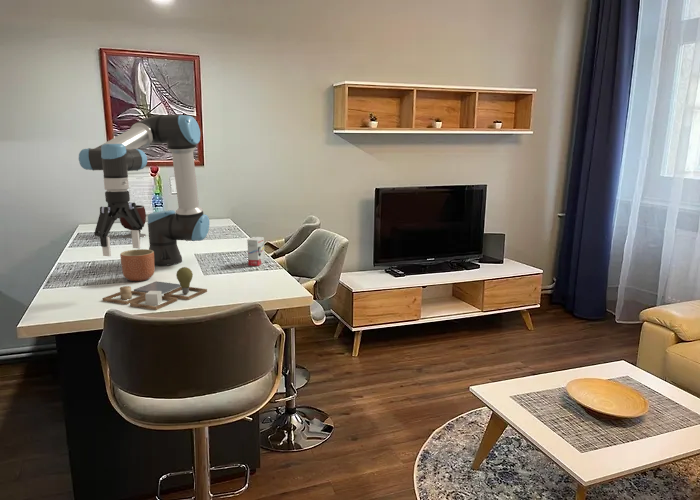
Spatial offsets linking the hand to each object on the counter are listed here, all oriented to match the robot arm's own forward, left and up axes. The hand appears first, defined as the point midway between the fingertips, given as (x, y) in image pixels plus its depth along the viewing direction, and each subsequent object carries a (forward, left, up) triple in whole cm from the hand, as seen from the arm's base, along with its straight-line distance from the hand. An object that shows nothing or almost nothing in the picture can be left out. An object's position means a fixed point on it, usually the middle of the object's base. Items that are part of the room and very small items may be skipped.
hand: (122, 252), depth 181 cm
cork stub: (0, 0, -17) cm, 17 cm away
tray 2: (+13, -1, -17) cm, 21 cm away
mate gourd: (-82, +93, -17) cm, 125 cm away
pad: (+2, +14, -17) cm, 22 cm away
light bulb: (+16, +12, -17) cm, 26 cm away
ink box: (+16, +62, -17) cm, 66 cm away
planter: (-14, +22, -17) cm, 31 cm away
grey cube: (+13, -1, -17) cm, 21 cm away
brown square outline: (+16, +12, -17) cm, 26 cm away
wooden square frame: (0, 0, -17) cm, 17 cm away
